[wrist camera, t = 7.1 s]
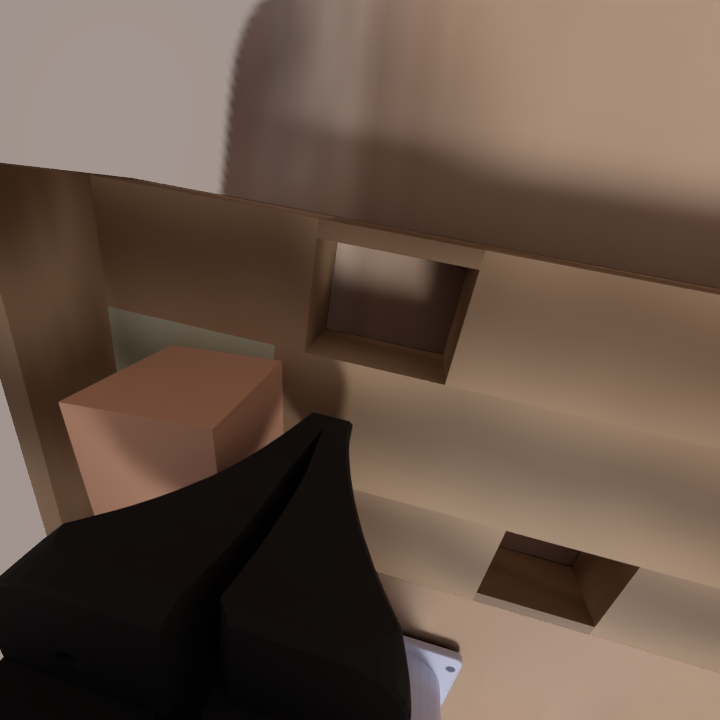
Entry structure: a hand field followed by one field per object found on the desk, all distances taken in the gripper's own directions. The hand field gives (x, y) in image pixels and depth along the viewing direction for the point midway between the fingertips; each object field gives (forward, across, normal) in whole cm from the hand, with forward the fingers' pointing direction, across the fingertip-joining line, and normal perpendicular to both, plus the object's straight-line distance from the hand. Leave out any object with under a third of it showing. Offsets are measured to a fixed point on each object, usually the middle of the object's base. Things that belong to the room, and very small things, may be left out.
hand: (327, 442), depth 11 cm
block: (+1, +4, 0) cm, 4 cm away
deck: (+3, -5, 0) cm, 6 cm away
